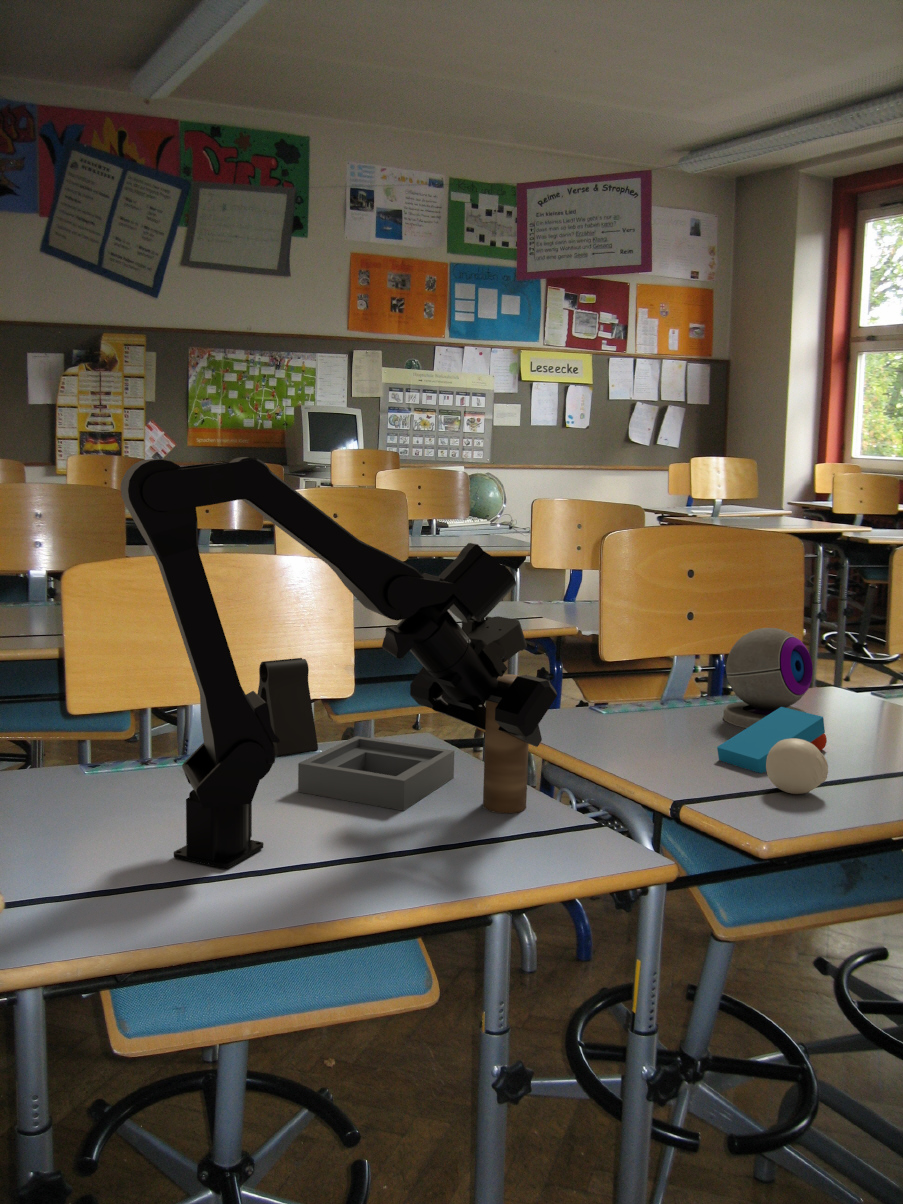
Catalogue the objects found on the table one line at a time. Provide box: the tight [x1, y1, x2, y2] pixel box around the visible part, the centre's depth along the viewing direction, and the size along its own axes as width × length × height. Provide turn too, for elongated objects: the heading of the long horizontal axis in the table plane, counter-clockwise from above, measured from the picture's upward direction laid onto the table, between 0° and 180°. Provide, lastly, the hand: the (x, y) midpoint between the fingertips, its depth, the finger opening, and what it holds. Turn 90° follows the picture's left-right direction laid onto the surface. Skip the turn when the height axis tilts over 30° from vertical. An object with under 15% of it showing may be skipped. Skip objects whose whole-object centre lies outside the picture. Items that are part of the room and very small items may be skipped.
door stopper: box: [256, 657, 319, 757], centre depth 139 cm, size 9×6×12 cm, turn 35°
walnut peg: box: [482, 673, 530, 814], centre depth 117 cm, size 5×5×15 cm
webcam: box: [723, 627, 814, 729], centre depth 161 cm, size 13×13×15 cm
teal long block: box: [716, 707, 828, 774], centre depth 141 cm, size 7×7×18 cm
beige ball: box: [766, 738, 829, 795], centre depth 125 cm, size 7×7×7 cm
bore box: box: [297, 735, 455, 812], centre depth 124 cm, size 14×14×4 cm
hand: (515, 736), depth 117 cm, fingers open, 7 cm apart
